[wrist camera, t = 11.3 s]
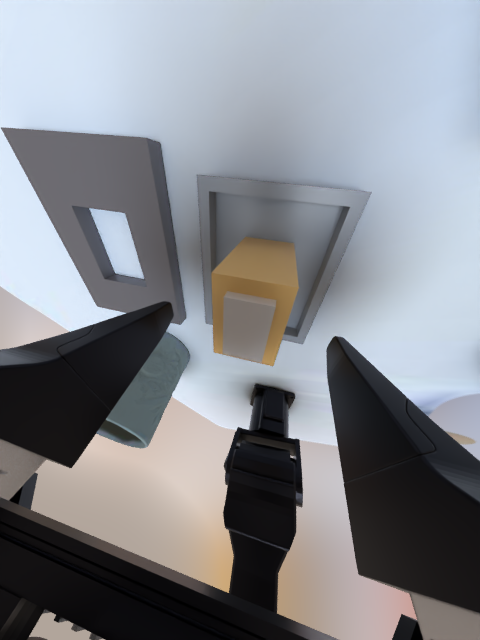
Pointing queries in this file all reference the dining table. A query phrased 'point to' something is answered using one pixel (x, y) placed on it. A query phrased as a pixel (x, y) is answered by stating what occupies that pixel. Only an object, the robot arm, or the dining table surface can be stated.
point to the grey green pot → (147, 395)
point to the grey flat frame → (106, 194)
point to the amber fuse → (253, 299)
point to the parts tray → (279, 233)
